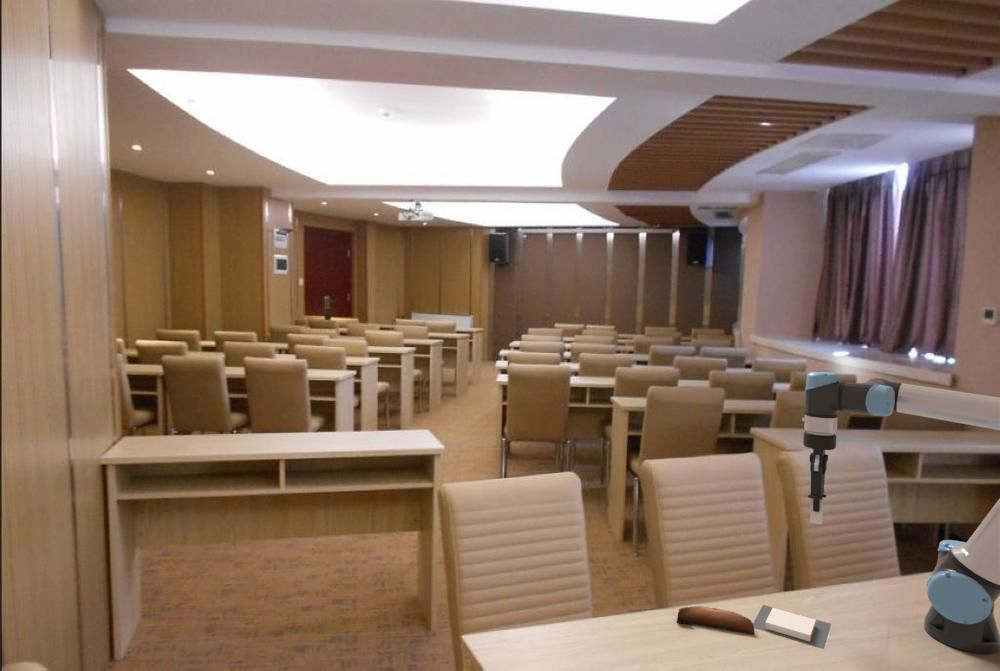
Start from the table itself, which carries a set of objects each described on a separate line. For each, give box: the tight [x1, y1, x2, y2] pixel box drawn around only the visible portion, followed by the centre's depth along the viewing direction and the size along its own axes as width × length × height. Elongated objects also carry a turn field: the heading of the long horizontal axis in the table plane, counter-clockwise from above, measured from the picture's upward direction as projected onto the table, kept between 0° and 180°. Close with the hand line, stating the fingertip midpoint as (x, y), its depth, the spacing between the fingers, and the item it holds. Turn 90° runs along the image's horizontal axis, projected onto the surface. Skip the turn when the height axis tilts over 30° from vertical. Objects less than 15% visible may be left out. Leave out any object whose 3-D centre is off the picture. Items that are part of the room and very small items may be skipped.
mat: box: [752, 604, 832, 650], centre depth 158 cm, size 16×14×1 cm
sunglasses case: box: [676, 605, 755, 635], centre depth 159 cm, size 18×7×7 cm, turn 74°
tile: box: [765, 607, 817, 642], centre depth 157 cm, size 10×2×9 cm
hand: (816, 522), depth 165 cm, fingers closed
